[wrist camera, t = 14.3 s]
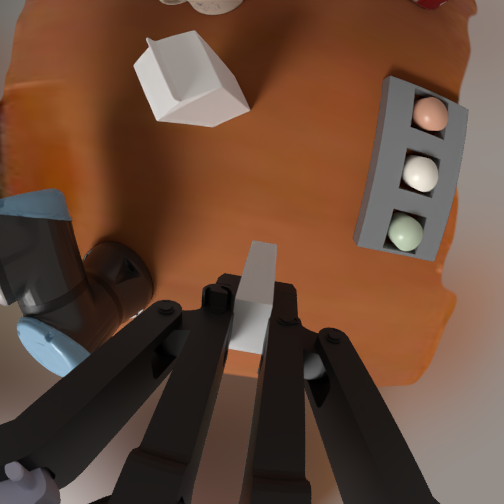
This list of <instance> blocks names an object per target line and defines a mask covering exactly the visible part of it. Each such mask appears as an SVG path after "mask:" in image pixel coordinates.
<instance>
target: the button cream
mask: <svg viewBox="0 0 504 504" xmlns="http://www.w3.org/2000/svg"><path fill="white" fill-rule="evenodd" d="M401 179H402V181H403V182H404V183H405V184H406V185H408V186H410V187H413V188H415V189H417V190H419V191H422V192H427V191H430V190H431V189H433V188H434V187H435V185H436V183H437V181H438V169H437V167H436V165H435V163H434V162H433V161H432V160H430V159H429V158H425V157H420V156H415V155H409V156H407V157H405V161H404V166H403V171H402V175H401Z"/></svg>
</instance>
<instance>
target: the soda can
mask: <svg viewBox="0 0 504 504" xmlns="http://www.w3.org/2000/svg"><path fill="white" fill-rule="evenodd" d="M412 1H413V2H415V3H416V4H417V5H419V6H421V7H423V8H425V9H429V10H434V9H436V8H438V7H439V6H441V5H442V4H443V3H445V2H446V1H448V0H412Z"/></svg>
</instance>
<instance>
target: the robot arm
mask: <svg viewBox="0 0 504 504" xmlns="http://www.w3.org/2000/svg"><path fill="white" fill-rule="evenodd" d="M276 255H277V244H271V243H265V242H259V241H252V244H251V247H250V251H249V254H248V257H247V261H246V264H245V267H244V271H243V274H242V276H237V275H232V274H226V273H224V274H223V275H221V276H220V277H219V278H218V280H217V282H216V284H209V285H207V286H205V287H204V288H203V291H202V306H201V308H200V309H197V310H182V307H181V306H180V304H178V303H177V302H175V301H171V300H161V301H157V302H155V303H153V304H152V305H151V306H150V307H148V308H147V309H146V310H145V311H144V309H145V308H146V307H147V305H148V304H149V302H150V300H151V298H152V294H153V284H152V279H151V276H150V273H149V271H148V269H147V267H146V265H145V264H144V262H143V261H142V260H141V258H140V257H139V256H138V255H137V254H136V253H135V252H134V251H132V250H131V249H130V248H128V247H126V246H125V245H123V244H120V243H117V242H103V243H100V244H98V245H96V246H95V247H93V248H92V249H91V250H90V251H88V253H87V254H86V255H85V257H84V258H83V261H82V259H81V256H80V252H79V249H78V245H77V242H76V238H75V234H74V230H73V226H72V217H71V216H70V214H69V211H68V207H67V203H66V199H65V196H64V194H63V193H62V192H61V191H60V190H58V189H54V188H52V189H45V190H39V191H34V192H28V193H24V194H19V195H15V196H10V197H7V198H3V199H0V304H2V305H4V306H8V305H10V304H12V303H14V302H16V301H17V302H18V304H19V306H20V309H21V311H22V313H23V317H21V318H20V319H19V322H18V324H17V333H18V336H19V338H20V340H21V342H22V343H23V345H24V346H25V348H26V349H27V350H28V352H29V353H30V354H31V355H32V356H33V357H34V358H35V359H36V360H37V361H38V362H39V363H40V364H42V365H43V366H44V367H45V368H47V369H48V370H50V371H51V372H53V373H55V374H57V375H59V376H62V377H63V378H62V379H61V380H60V381H58V382H57V383H56V384H55V385H54V386H53V387H52V388H50V389H49V390H48V391H47V392H46V393H45V394H43V395H42V396H41V397H40V398H39V399H37V400H36V401H35V402H34V403H33V404H32V405H30V406H29V407H28V408H27V409H26V410H25V411H24V412H22V413H21V414H20V415H19V416H18V417H17V418H16V419H14V420H12V421H9V422H7V423H4V424H1V425H0V504H60V501H61V499H60V492H59V489H61V488H63V487H65V486H67V485H68V484H69V483H71V482H72V481H74V480H75V479H76V478H77V477H78V476H79V475H80V474H81V473H82V472H83V471H84V470H85V469H86V468H87V467H88V465H89V464H90V463H91V462H92V461H93V460H94V459H95V457H97V455H98V454H99V453H100V452H101V451H102V450H103V448H105V446H106V445H107V444H108V443H109V442H110V441H111V439H112V438H113V437H114V436H115V435H116V434H117V433H118V432H119V431H120V430H121V428H122V427H123V426H124V425H125V424H126V423H127V422H128V420H129V419H130V418H131V417H132V416H133V415H134V414H135V413H136V411H137V410H138V409H139V408H140V407H141V406H142V405H143V403H144V402H145V401H146V400H147V399H148V398H149V396H150V395H151V394H152V393H153V392H154V391H155V390H156V388H157V387H158V386H159V385H160V384H161V383H162V381H163V380H164V379H165V378H166V377H167V376H168V374H169V373H170V372H171V371H172V372H171V375H170V377H169V379H168V382H167V384H166V386H165V389H164V391H163V393H162V396H161V398H160V400H159V402H158V405H157V407H156V409H155V412H154V414H153V416H152V419H151V421H150V423H149V426H148V428H147V431H146V433H145V435H144V438H143V440H142V442H141V444H140V446H139V447H138V448H135V449H133V450H132V451H131V452H130V454H129V455H128V457H127V459H126V462H125V464H124V466H123V469H122V471H121V473H120V476H119V478H118V481H117V483H116V485H115V488H114V490H113V493H112V495H109V496H106V497H103V498H101V499H98V500H96V501H94V502H91V503H89V504H191V500H192V494H193V488H194V483H195V480H196V476H197V472H198V468H199V464H200V461H201V457H202V453H203V449H204V445H205V441H206V437H207V433H208V430H209V426H210V421H211V418H212V414H213V410H214V406H215V402H216V399H217V395H218V391H219V387H220V383H221V379H222V375H223V371H224V367H225V363H226V360H227V355H228V348H229V349H234V350H239V351H245V352H251V353H257V354H262V356H261V360H260V364H259V369H258V373H257V374H258V381H257V389H256V396H255V403H254V410H253V417H252V424H251V431H250V438H249V445H248V452H247V458H246V464H245V470H244V477H243V483H242V490H241V495H240V500H239V504H311V485H310V482H309V481H308V480H307V479H306V477H305V397H304V388H305V391H306V394H307V397H308V400H309V402H310V405H311V408H312V411H313V414H314V417H315V420H316V423H317V426H318V429H319V432H320V435H321V438H322V441H323V444H324V447H325V450H326V452H327V456H328V459H329V461H330V464H331V468H332V471H333V474H334V476H335V479H336V482H337V485H338V488H339V491H340V494H341V497H342V500H343V503H344V504H440V503H439V502H438V501H437V500H436V499H434V497H433V496H432V494H431V492H430V490H429V488H428V485H427V483H426V481H425V479H424V477H423V475H422V473H421V471H420V469H419V467H418V465H417V463H416V461H415V459H414V457H413V455H412V453H411V451H410V449H409V447H408V445H407V443H406V441H405V439H404V438H403V436H402V433H401V432H400V430H399V428H398V426H397V424H396V422H395V420H394V418H393V417H392V415H391V413H390V411H389V409H388V407H387V405H386V403H385V402H384V400H383V398H382V396H381V394H380V392H379V391H378V389H377V387H376V385H375V383H374V382H373V380H372V378H371V376H370V375H369V373H368V371H367V369H366V367H365V366H364V364H363V362H362V360H361V359H360V357H359V355H358V353H357V352H356V350H355V348H354V347H353V345H352V343H351V341H350V340H349V338H348V336H347V335H346V334H345V333H344V332H342V331H341V330H338V329H335V328H323V329H322V330H320V331H319V333H315V332H313V331H310V330H308V329H306V328H305V327H303V326H302V323H301V320H300V319H299V318H298V310H297V292H296V289H295V287H294V286H293V285H292V284H288V283H282V282H276V281H275V269H276ZM139 314H140V315H139ZM136 316H137V317H136ZM134 317H136V318H135V319H133V320H132V321H131V322H130V323H129V324H127V325H126V326H125V327H124V328H122V329H121V330H120V331H119V332H117V333H116V334H115V335H114V336H113V337H112V335H113V334H114V333H115V331H116V330H117V329H118V327H119V326H120V325H121V324H123V323H124V322H126V321H128V320H129V319H131V318H134Z"/></svg>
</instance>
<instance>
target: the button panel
mask: <svg viewBox="0 0 504 504" xmlns="http://www.w3.org/2000/svg"><path fill="white" fill-rule="evenodd" d="M415 94H417V95H419V96H422V97H424V98H429V97H434V98H437V99H439V100H440V101H441V102H442V103H443V104H444V105H445V107H446V109H447V112H448V122H447V125H446V127H445V128H444V129H442V130H439V131H436V133H435V136H433V135H430V134H428V133H425V132H423V131H420V130H417V129H415V128H412V127H410V126H411V119H412V112H413V104H414V95H415ZM467 119H468V109H466V108H464V107H462V106H460V105H458V104H456V103H454V102H452V101H450V100H448V99H446V98H444V97H442V96H440V95H438V94H436V93H433V92H431V91H429V90H426V89H424V88H422V87H419V86H417V85H414V84H412V83H409V82H407V81H404V80H401V79H399V78H396V77H393V76H388V77H387V78H385V79H383V85H382V94H381V102H380V109H379V116H378V122H377V129H376V135H375V141H374V146H373V152H372V157H371V162H370V167H369V172H368V177H367V182H366V186H365V191H364V195H363V200H362V204H361V208H360V212H359V216H358V220H357V224H356V228H355V232H354V236H353V240H354V242H355V243H356V245H357V246H359V247H364V248H370V249H375V250H380V251H385V252H390V253H395V254H400V255H405V256H409V257H414V258H419V259H424V260H428V261H433V262H434V260H435V257H436V254H437V251H438V248H439V245H440V242H441V239H442V236H443V233H444V230H445V227H446V223H447V220H448V216H449V213H450V209H451V206H452V202H453V198H454V194H455V190H456V185H457V181H458V176H459V171H460V166H461V161H462V155H463V149H464V143H465V136H466V128H467ZM407 149H409V150H412V151H415V152H418V153H420V154H423V155H426V156H429V157H431V160H432V161H433V162H434V163H435V165H436V167H437V169H438V181H437V183H436V185H435V187H434V188H433V189H431V190H430V191H427V192H424V194H421V193H418V192H415V191H412V190H408V189H405V188H401V187H399V184H400V180H401V175H402V171H403V166H404V161H405V156H406V150H407ZM393 209H397V210H401V211H405V212H408V213H412V214H416V215H418V217H417V222H418V223H419V224H420V225H421V227H422V230H423V236H422V240H421V242H420V244H419V245H418V246H417V247H416V248H415V249H413V250H411V251H403V250H400V249H399V248H398V247H397V246H396V245H395V244H391V243H386V242H384V241H385V238H386V235H387V231H388V228H389V224H390V220H391V217H392V213H393Z"/></svg>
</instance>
